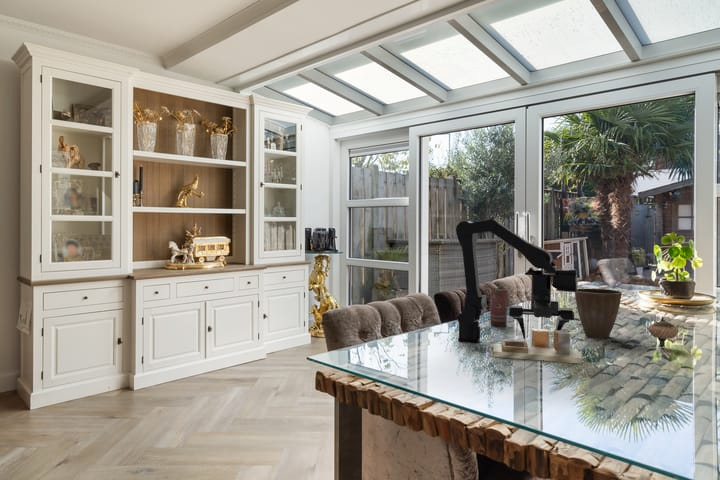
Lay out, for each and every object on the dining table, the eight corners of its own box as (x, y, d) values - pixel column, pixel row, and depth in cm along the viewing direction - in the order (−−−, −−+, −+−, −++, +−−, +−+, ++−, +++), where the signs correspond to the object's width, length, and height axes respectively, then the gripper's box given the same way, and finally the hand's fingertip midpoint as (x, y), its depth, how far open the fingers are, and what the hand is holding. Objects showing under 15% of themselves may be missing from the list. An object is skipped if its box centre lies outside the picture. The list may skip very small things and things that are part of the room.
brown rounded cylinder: (508, 327, 185) (508, 290, 185) (490, 326, 186) (491, 289, 186) (506, 324, 191) (507, 288, 191) (489, 323, 192) (490, 287, 192)
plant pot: (573, 338, 167) (575, 292, 167) (572, 330, 181) (573, 287, 181) (623, 342, 162) (624, 294, 161) (618, 333, 176) (619, 289, 175)
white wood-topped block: (531, 347, 154) (531, 328, 154) (547, 348, 153) (548, 329, 153) (531, 349, 151) (532, 330, 151) (549, 351, 149) (549, 331, 149)
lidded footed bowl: (680, 347, 156) (681, 316, 155) (674, 352, 150) (675, 320, 149) (650, 343, 161) (651, 313, 161) (644, 347, 155) (645, 316, 155)
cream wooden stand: (493, 356, 142) (493, 330, 142) (493, 348, 152) (493, 324, 152) (582, 363, 136) (583, 336, 136) (576, 354, 145) (577, 329, 145)
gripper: (510, 291, 146) (509, 343, 147) (577, 294, 141) (576, 348, 142) (509, 287, 157) (508, 335, 157) (571, 290, 152) (570, 340, 152)
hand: (539, 340), depth 152 cm, fingers open, 9 cm apart
